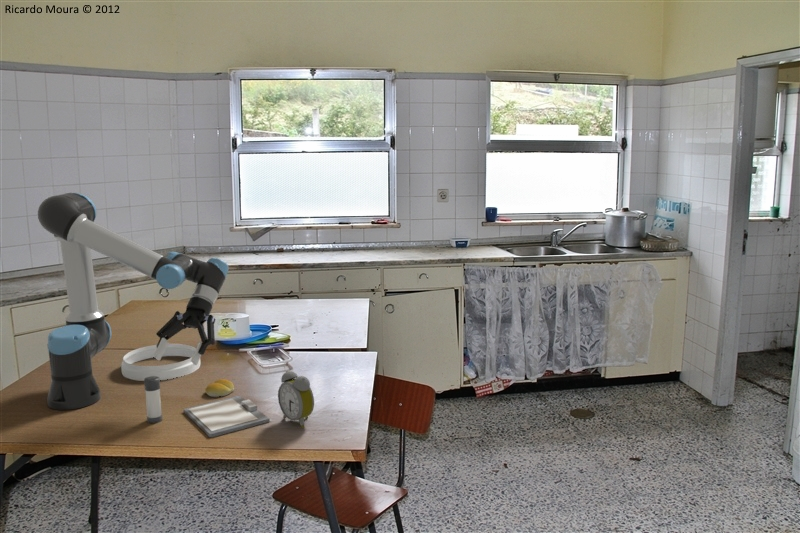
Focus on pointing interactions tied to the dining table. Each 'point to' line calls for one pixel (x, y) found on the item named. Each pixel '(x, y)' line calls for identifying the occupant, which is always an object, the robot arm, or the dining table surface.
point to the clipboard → (226, 416)
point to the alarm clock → (295, 397)
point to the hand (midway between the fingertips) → (174, 360)
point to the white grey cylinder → (153, 399)
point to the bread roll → (220, 388)
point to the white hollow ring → (162, 370)
